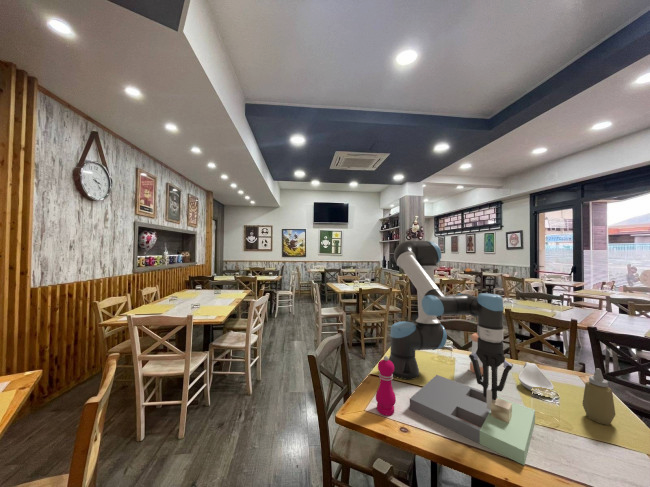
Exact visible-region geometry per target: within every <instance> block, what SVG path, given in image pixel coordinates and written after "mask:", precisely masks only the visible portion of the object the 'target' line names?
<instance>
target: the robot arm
mask: <svg viewBox="0 0 650 487" xmlns="http://www.w3.org/2000/svg"><path fill="white" fill-rule="evenodd" d="M393 259H394V262H395V263H396V266H398V267H399V268H401V269H402V270H403V271H404V273H405V274H406V276H407V277H408V278H409V280H410V282H411V283H412V285H413V286H414V287H415V289H416V291H417V292H416V294H417V311H418V317H417V318H416V319H415V323H414V322H411V321H403V320H402V321H396V322H394V323H393V324H392V325H391V327H390V334H389V335H390V350H389V351H390V354H389V356H388V358H389V359H388V360H390V361H391V362H392V363H393V365H394V372H393V373H392V374H393V377H394V376H395V377H394V378H397V377H398V378H397V379H400V378H402V379H401V380H415V379H417V378H419V375H420V368H419V365H418V362H417V358H416V351H427V350H428V351H429V350H432V351H437V350H441V349H443V348H444V347H445V346H446V344H447V338H448V334H447V331H446V328H445V327H444V325H442V324H441V321H440V320H439V318H437V317H441V316H442V317H443V316H471V317H474V318H477V333H478V336H479V337H478V349H477V351H476V353H472V352H471V353H470V354H469V355H468V358H469V359H470V362H471V361H472V363H473V367H474V372H475V373H474V375H475V379H476V383H477V385H480V386H482V389H483V390H482V391H483V395H484V397H487V409H490V410H491V402H492V400H496V399H497V396H498V392H503V390H504V389H505V385H506V383H507V382H506V381H507V379H508V375H509V372H510V371H511V370H512V369H513V367H514V364H513V363H511V362H509V361H507V359H506V358H505V355H504V310H505V307H504V300H503V296H501V295H499V294H495V293H489V292H488V293H487V292H483V293H479V294H478V295H477V296H475V295H473V294H472V295H471V294H470V293H462V292H460V293H456V294H454V295H453V294H447V295H446V294H444V292H442V290H441V289H440V288H439V286H438V285H437V284H436V283H435V282H436V281H435V269H436V268H437V267H438V265H437V264H439V263H440V262H441V259H442V251H441V248H440V246H439V245H438V244H437V243H436V242H434V241H430V240H429V241H428V240H404V241H402V242H400V243H399V244H397V246H396V247H395V249H394V251H393ZM477 356H478V357H477ZM478 358H479V359H480V361H481V362H482V363H483V375H481V371H480V367H479V363H478V360H477V359H478ZM502 364H503V366H502V367H503V368H504V369H503V371H502V375H501V378H500V380H499V384H498V368H499V367H500V366H501V365H502ZM489 368H490V370H491V386H489V385H490V382H489V380H490V377H489V376H490V373H489ZM416 377H417V378H416ZM414 378H415V379H414Z"/></svg>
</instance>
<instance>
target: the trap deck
mask: <svg viewBox="0 0 650 487" xmlns="http://www.w3.org/2000/svg"><path fill="white" fill-rule="evenodd" d="M497 398H499V399H501V400H504V401H507V402H510V403H512V417H511V420H510V422H509V423H507V422H504V421H502V420H499V419H497V418H494V417H492V416H491V410H490V409H487V397H484V395H483V390H481V389H478V388H475V387H472V386H470V385H467V384H464V383H461V382H458V381H456V380H452V379H450V378H447V377H444V376H441V375H438V374H436V375H435V376H434V377H432V379H430V380H429V381H427V383H425V385H423V386H422V387H421V388H420V389H419V390H418V391H416V392H415V393H414V394H413V395H412V396H410V398H409V410H410V411H412V412H414V413H416V414H418V415H421V416H422V417H424V418H426V419H428V420H431V421H433V422H435V423H437V424H439V425H440V426H443V427H445V428H447V429H449V430H451V431H452V432H455V433H457V434H460V435H461V436H463V437H465V438H468V439H469V440H471V441H473V442H476V443H477V444H479V445H481V446H484V447H485V448H488V449H489V450H492V451H494V452H495V453H498V454H500V455H502V456H504V457H506V458H509V459H510V460H513V461H514V462H516V463H519V464H521V465H522V466H525V464H526V462H527V456H528V453H529V448H530V444H531V439H532V437H533V432H534V428H535V423H536V409H534V408H531V407H528V406H525V405H523V404H520V403H517V402H513V401H511V400H509V399H505V398H503V397H501V396H498V395H497Z"/></svg>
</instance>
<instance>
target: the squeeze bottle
mask: <svg viewBox="0 0 650 487" xmlns="http://www.w3.org/2000/svg"><path fill="white" fill-rule="evenodd" d="M614 401H615V400H614V395H613V389H611V387H609V381H608V380H607V379H604V376H603V373H602V370H601V368H597V367H596V368H595V371H594V373H593V375H590V376H588V381H586V382H585V384H584V390H583V398H582V406H583V409H584V412H585V414H586V417H587V418H588V419H590V420H592V421H593V422H596V423H598V424H601V425H607V426H608V425H609V426H610V425H611V423H612V422H613V420H614V418H615V417H616V415H617V414H616V409H615V402H614Z"/></svg>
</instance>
